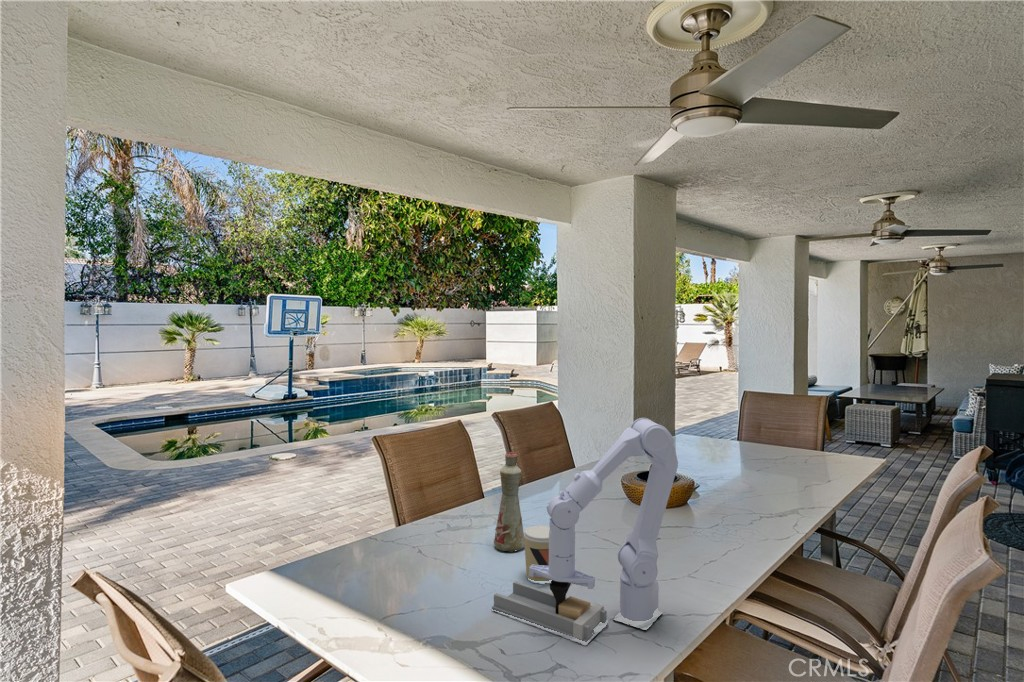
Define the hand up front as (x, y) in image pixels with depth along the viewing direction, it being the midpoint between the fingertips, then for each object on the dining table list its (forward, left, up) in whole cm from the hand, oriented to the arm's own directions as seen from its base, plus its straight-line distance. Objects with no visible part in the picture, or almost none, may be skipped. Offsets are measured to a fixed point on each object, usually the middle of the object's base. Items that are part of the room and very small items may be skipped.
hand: (560, 613), depth 125 cm
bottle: (-27, -33, -2) cm, 43 cm away
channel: (0, -3, -2) cm, 4 cm away
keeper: (0, +3, -1) cm, 3 cm away
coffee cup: (-16, -15, -2) cm, 22 cm away
